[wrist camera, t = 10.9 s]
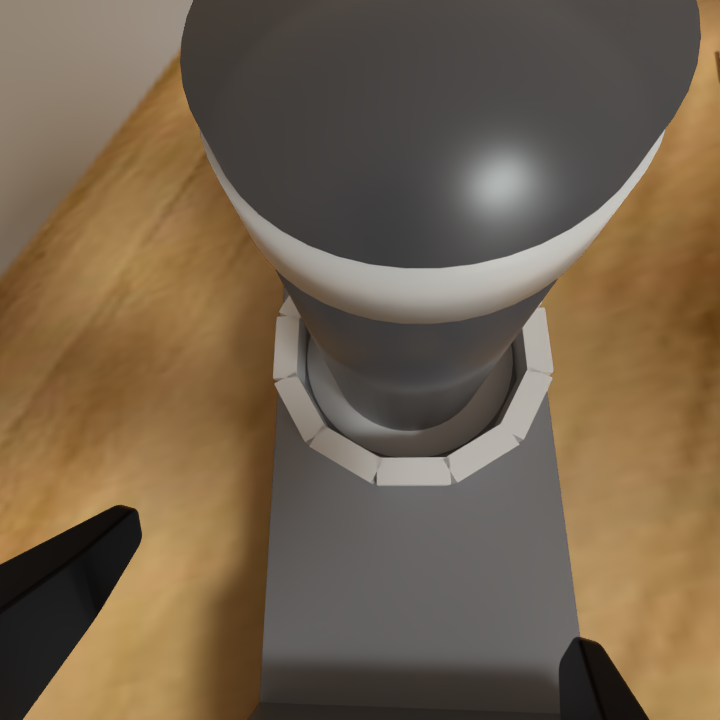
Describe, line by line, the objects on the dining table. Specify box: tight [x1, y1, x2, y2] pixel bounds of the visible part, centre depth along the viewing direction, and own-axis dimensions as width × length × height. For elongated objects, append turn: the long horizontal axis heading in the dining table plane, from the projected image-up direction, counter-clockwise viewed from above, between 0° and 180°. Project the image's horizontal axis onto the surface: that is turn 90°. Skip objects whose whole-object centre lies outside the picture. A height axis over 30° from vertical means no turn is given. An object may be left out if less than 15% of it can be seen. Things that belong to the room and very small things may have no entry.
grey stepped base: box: [248, 286, 580, 720], centre depth 16 cm, size 11×23×4 cm, turn 0°
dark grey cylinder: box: [180, 0, 701, 431], centre depth 11 cm, size 6×6×13 cm
